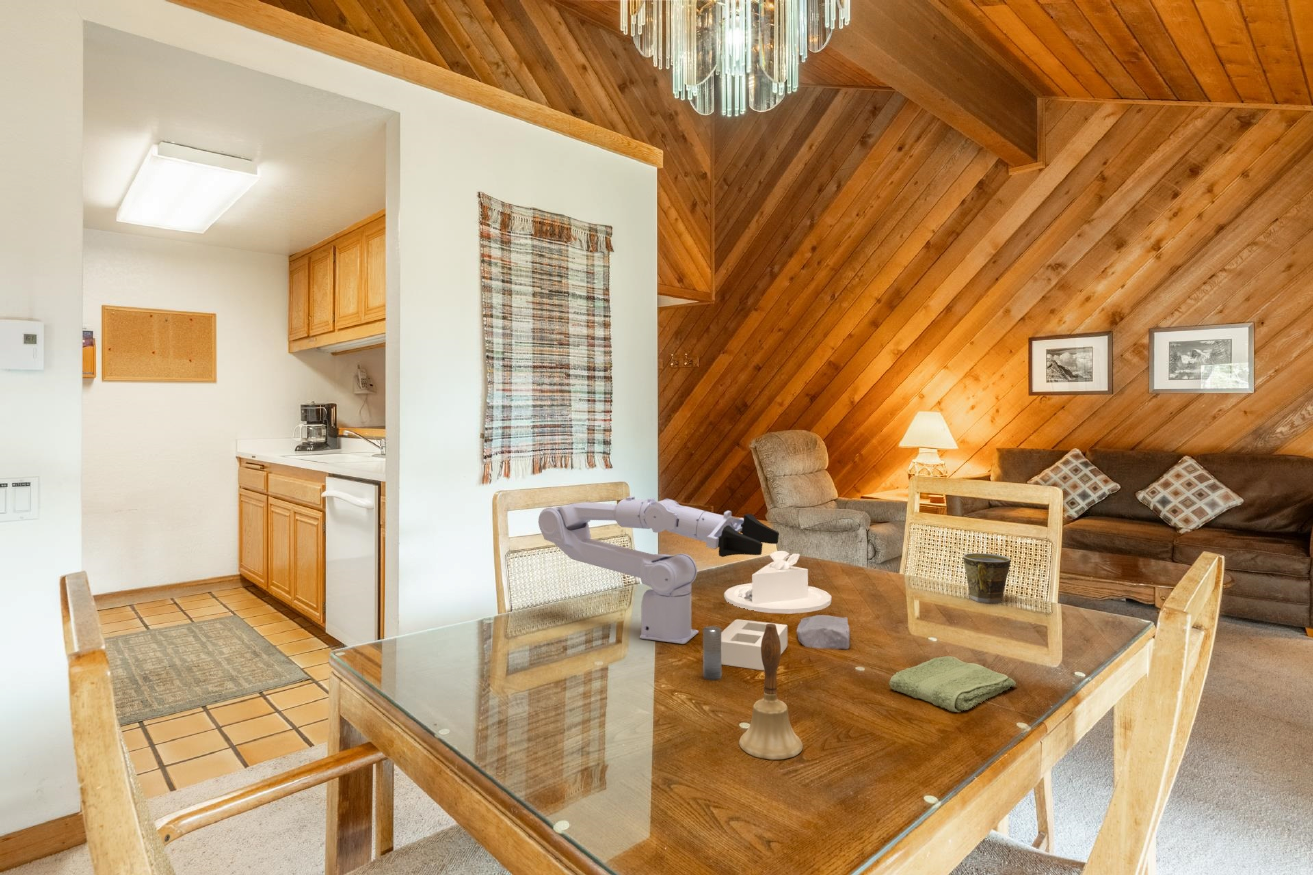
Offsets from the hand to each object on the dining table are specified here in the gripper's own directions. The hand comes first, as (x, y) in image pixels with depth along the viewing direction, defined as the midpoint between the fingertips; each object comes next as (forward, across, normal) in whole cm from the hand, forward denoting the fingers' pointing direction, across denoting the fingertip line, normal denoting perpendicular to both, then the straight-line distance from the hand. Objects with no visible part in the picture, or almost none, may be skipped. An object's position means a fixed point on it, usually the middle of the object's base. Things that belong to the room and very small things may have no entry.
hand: (769, 543), depth 127 cm
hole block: (0, -4, +20) cm, 20 cm away
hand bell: (+16, -35, +14) cm, 41 cm away
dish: (-10, +35, +26) cm, 45 cm away
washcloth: (+34, -2, +16) cm, 37 cm away
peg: (-1, -17, +19) cm, 26 cm away
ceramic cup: (+32, +57, +22) cm, 69 cm away
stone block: (+9, +11, +21) cm, 25 cm away
